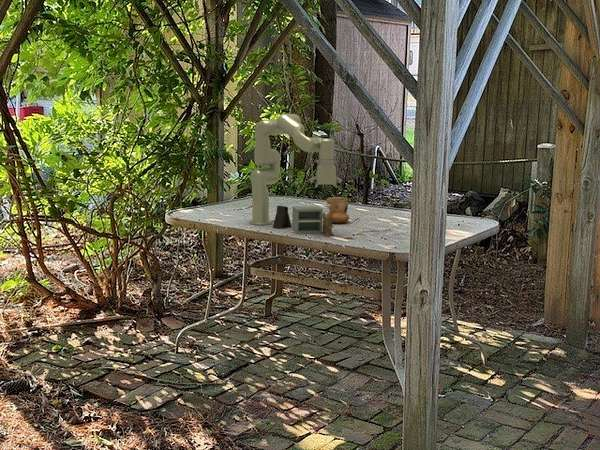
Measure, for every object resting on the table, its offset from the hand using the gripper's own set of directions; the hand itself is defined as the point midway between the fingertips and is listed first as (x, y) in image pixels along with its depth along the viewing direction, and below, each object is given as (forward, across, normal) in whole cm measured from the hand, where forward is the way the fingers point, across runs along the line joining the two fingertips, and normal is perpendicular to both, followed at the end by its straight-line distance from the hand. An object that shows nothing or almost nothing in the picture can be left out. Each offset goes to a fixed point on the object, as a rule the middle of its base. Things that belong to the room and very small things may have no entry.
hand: (325, 195), depth 401 cm
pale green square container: (+21, -5, +4) cm, 22 cm away
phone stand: (+22, -18, +24) cm, 37 cm away
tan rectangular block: (+21, +1, -2) cm, 21 cm away
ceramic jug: (+22, +17, +38) cm, 47 cm away
